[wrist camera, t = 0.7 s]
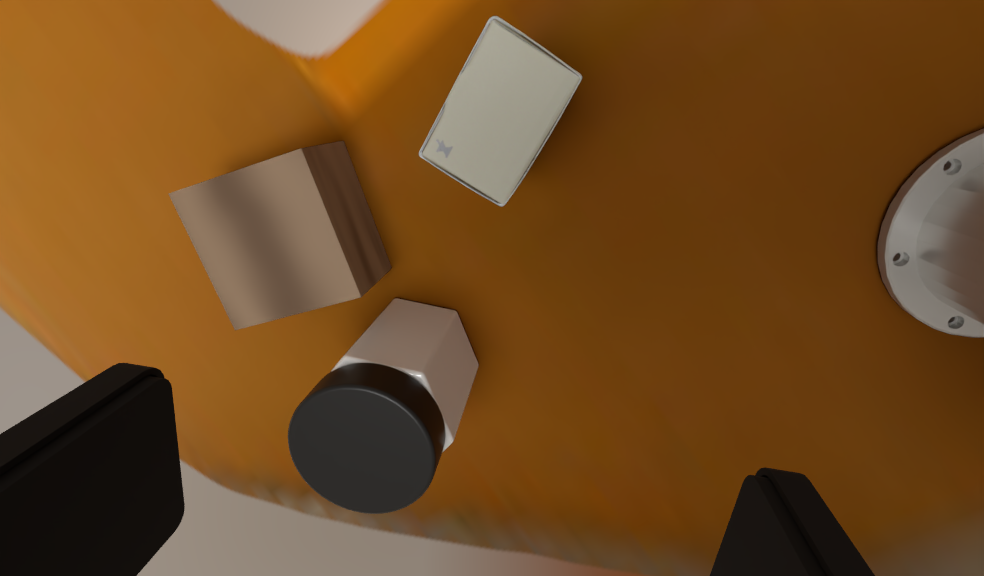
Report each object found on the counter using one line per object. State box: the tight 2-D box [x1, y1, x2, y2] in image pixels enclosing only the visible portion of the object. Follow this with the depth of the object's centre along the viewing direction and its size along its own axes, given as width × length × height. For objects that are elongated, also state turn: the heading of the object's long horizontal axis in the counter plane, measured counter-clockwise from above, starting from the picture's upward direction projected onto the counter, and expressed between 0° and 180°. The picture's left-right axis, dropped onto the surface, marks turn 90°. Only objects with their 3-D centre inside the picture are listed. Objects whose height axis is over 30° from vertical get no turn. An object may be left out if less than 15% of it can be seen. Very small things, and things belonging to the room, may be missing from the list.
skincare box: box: [419, 16, 582, 207], centre depth 26 cm, size 6×4×12 cm
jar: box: [288, 298, 479, 514], centre depth 33 cm, size 9×8×12 cm
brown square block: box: [169, 141, 392, 330], centre depth 34 cm, size 9×9×6 cm
